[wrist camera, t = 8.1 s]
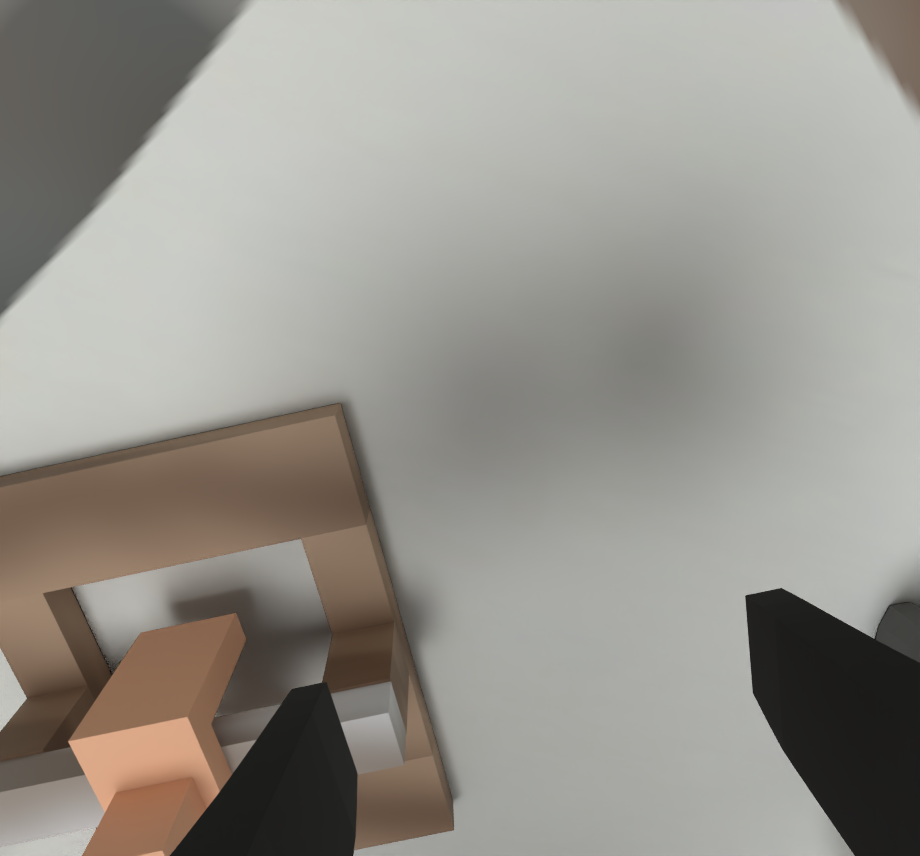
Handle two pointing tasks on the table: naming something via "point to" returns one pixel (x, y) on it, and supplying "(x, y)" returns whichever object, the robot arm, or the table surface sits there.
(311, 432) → the brown wooden frame
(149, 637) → the block
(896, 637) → the giant panda
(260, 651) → the table surface
